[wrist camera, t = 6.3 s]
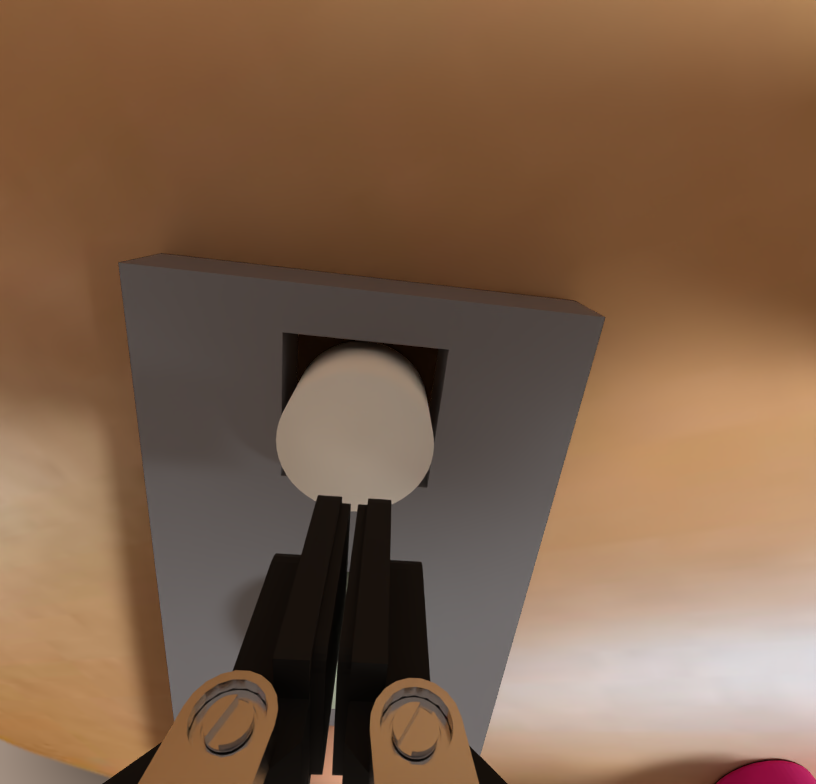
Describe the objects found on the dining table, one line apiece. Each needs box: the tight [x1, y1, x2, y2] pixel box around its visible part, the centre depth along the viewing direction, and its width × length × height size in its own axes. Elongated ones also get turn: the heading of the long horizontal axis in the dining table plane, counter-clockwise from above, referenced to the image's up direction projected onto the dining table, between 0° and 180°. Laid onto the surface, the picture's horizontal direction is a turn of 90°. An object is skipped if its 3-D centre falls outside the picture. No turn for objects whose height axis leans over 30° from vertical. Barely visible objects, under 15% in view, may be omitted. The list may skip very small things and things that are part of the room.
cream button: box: [276, 341, 434, 511], centre depth 14 cm, size 4×4×3 cm
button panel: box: [118, 253, 605, 756], centre depth 19 cm, size 26×14×2 cm, turn 173°
